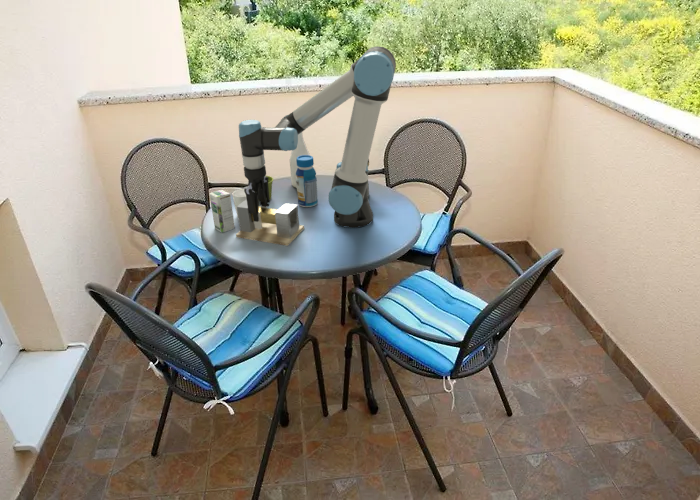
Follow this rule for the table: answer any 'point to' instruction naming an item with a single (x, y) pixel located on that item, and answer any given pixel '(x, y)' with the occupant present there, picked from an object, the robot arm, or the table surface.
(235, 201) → the white cup
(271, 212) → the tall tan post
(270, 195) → the plant pot
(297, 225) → the grey rectangular block
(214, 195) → the syrup box
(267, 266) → the table surface
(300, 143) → the wine bottle
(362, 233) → the table surface
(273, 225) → the board
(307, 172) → the beverage bottle
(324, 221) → the table surface
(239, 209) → the socket
